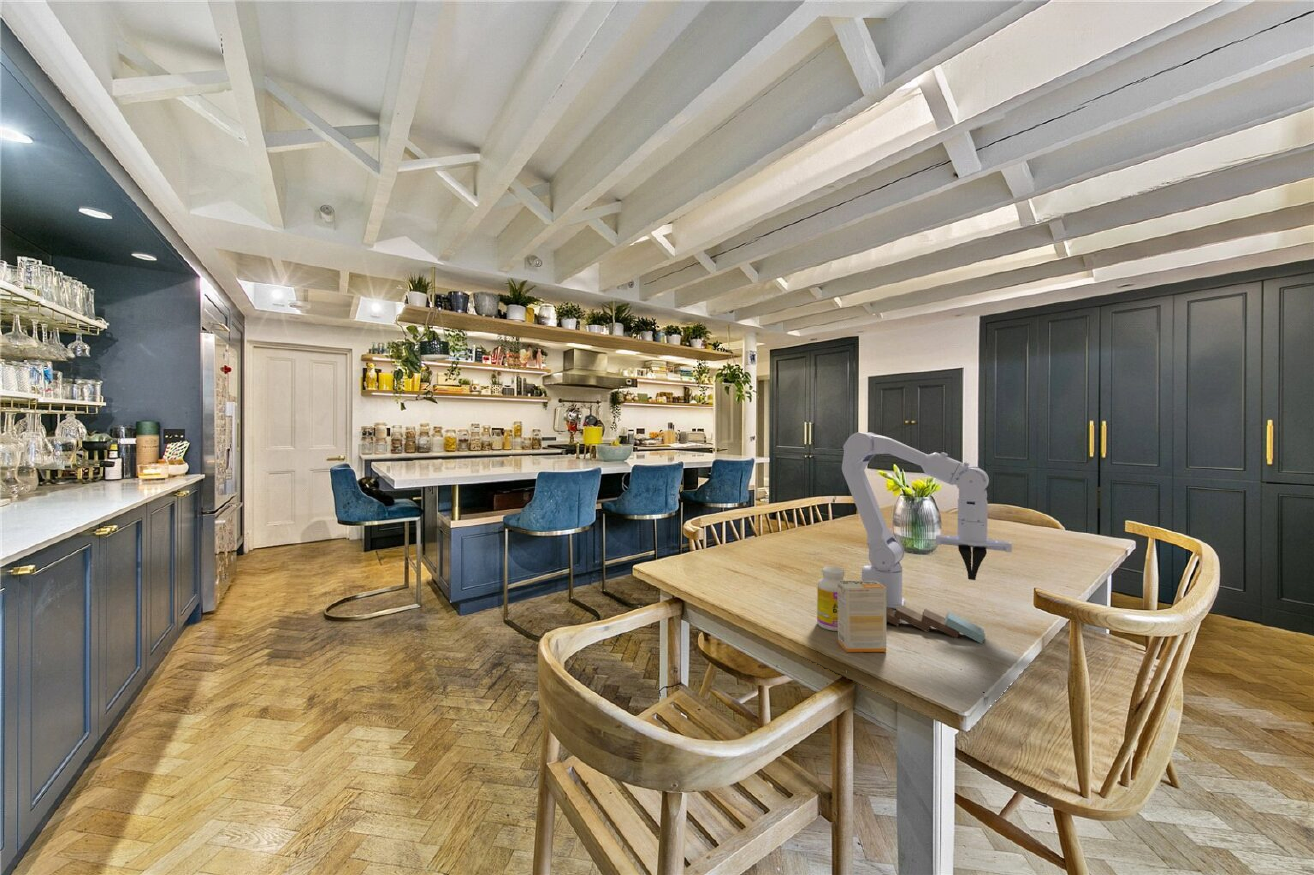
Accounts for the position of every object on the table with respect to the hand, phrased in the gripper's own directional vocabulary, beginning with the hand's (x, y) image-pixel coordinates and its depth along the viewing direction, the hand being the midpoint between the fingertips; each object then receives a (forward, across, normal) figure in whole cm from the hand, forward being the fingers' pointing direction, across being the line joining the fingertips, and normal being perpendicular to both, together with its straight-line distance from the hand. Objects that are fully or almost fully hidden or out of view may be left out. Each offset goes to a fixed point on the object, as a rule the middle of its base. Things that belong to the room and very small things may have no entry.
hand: (971, 578), depth 109 cm
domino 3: (+9, -3, -10) cm, 14 cm away
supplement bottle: (+10, -27, -19) cm, 35 cm away
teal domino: (+9, +2, -10) cm, 14 cm away
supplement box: (+10, -20, -27) cm, 35 cm away
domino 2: (+9, -8, -10) cm, 16 cm away
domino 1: (+9, -14, -10) cm, 20 cm away
